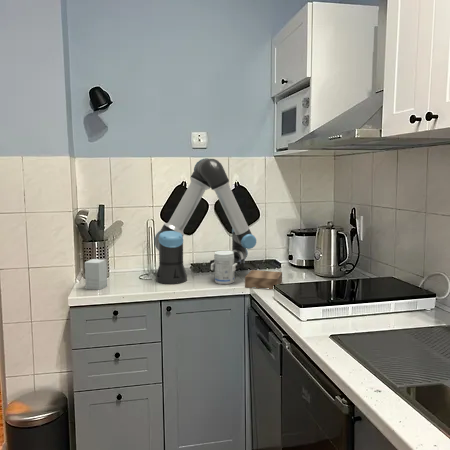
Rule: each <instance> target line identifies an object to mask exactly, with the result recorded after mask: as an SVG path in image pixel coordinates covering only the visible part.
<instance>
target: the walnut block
mask: <svg viewBox="0 0 450 450" xmlns="http://www.w3.org/2000/svg"><path fill="white" fill-rule="evenodd" d="M282 283H283V271H272V270H257V269H256V270H255V269H252V270H250V271H249V272H248V273H247V274H246V275H245V276H244V287H245V288H249V289H253V288H252V287H256V288H255V289H259V288H269V289H268V290H271V289H273V286H274V285H277V284H282Z"/></svg>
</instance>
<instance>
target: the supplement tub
mask: <svg viewBox="0 0 450 450" xmlns="http://www.w3.org/2000/svg"><path fill="white" fill-rule="evenodd" d="M213 258H214V259H213V260H214V265H215V268H214V282H215V283H216V284H219V285H230V284H232V283H234V282H235V271H234V272H232V266H233V265H234V252H233V251H232V250H229V249H226V250H217V251H214V257H213Z"/></svg>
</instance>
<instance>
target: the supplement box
mask: <svg viewBox="0 0 450 450" xmlns="http://www.w3.org/2000/svg"><path fill="white" fill-rule="evenodd" d="M107 267H108V266H107V259H100V258H99V259H98V258H92V259H89V260H87V261H85V262H84V278H85V290H97V291H99V290H102V289H104V288H107V287H108V274H107V273H108V272H107V271H108V270H107Z"/></svg>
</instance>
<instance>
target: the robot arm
mask: <svg viewBox="0 0 450 450" xmlns="http://www.w3.org/2000/svg"><path fill="white" fill-rule="evenodd" d="M189 179H190V183H189V185H188V187H187V189H186V190H185V192H184V194H183V195H182V197H181V200H180V201H179V203H178V205H177V206H176V208H175V210H174V212H173V214H172V215H171V217H170V219H169V221H168V222H165V223H164V224H163V225H162V227H161V229H160V230H159V231H158V232H157V233H156V234H155V235H154V246H155V248H156V250H157V251H158V259H159V260H158V261H159V263H158V268H157V271H156V274H155V281H156V282H157V283H159V284H165V285H166V284H167V285H174V284H181V283H182V284H183V283H185V282H187V281H188V274H187V272H186V269H185V265H184V236H185V234H184V229H185V227H186V226H187V225H188V222H189V220H190V219H191V217H192V215H193V214H194V212H195V210H196V208H197V206H198V205H199V203H200V201H201V199H202V197H203V196H204V194H205V192H206V191H207V190H210V189H211V190H212V191H214V192H215V194H216V197H217V198H218V202H219V203H220V205H221V207H222V209H223V211H224V213H225V215H226V218H227V219H228V222H229V224H230V226H231V227H232V229H231V233H232V234H231V243H232V244H231V245H232V246H231V251H233V252H234V265H233V266H232V272H234V273H235V271H237V270H239V269H244V268H245V260H246V259H247V257H248V254H249V253H248V251H249V250H251V249H253V248H254V247H255V246H256V245H257V238H256V237H255V235H253V233H252V232H251V230H250V227H249V225H248V222H247V221H246V219H245V216H244V213H243V212H242V211H241V208H240V206H239V204H238V202H237V199H236V198H235V195H234V193H233V190H232V188H231V187H230V185H229V184H230V179H229V178H228V175H227V173H226V170H225V168H224V166H223V165H222V163H221V162H220V161H219V160H218V159H215V158H202V159H200V160H198V161H197V162H196V164H195V165H194V167H193V172H192V173H191V175H190V177H189ZM209 267H210V270H211V271H213V270H215V265H214V259H212V260H210V261H209Z"/></svg>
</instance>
